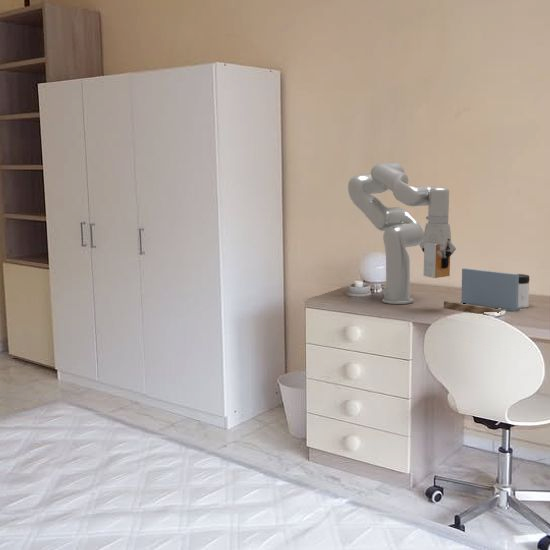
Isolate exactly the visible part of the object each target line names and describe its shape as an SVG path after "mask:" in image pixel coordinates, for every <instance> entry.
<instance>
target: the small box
mask: <svg viewBox="0 0 550 550" xmlns="http://www.w3.org/2000/svg"><path fill="white" fill-rule="evenodd" d="M447 248H448V245H447ZM448 251H450V249H449V250H448ZM445 253H446V251H445ZM442 258H443V255H442V251H439V244H434V243H424V252H423V277H425V278H426V277H428V278H432V279H438V278H445V277H450V274H451V273H450V271H451V256H450V257H449V263H448V268H444V269H443V268H442Z"/></svg>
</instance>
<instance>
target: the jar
mask: <svg viewBox="0 0 550 550" xmlns="http://www.w3.org/2000/svg"><path fill="white" fill-rule="evenodd" d="M518 274H519V287H518V308H520V309H522V308H523V307H524V308H529V299H530V297H529V295H530V293H529V292H530V275H528V274H524V273H518ZM524 308H523V309H524Z"/></svg>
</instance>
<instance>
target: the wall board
mask: <svg viewBox="0 0 550 550" xmlns="http://www.w3.org/2000/svg"><path fill="white" fill-rule="evenodd" d="M519 274H520V273H509V272H501V271H490V270H482V269H475V268H474V269H473V268H463V267H462V269H461V302H460V303H466V304H469V305H470V304H471V305H477V306H482V307H488V308H501V310H502V309H506V310H505V311H508V310H510V311H511V312H515V311H516V312H518V310H519V311H520V309H521V308H518V287H519Z"/></svg>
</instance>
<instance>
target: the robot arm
mask: <svg viewBox="0 0 550 550" xmlns="http://www.w3.org/2000/svg"><path fill="white" fill-rule="evenodd" d="M347 190H348V194H349V195H348V196H349V198H350V200H351V201H352V203H353V204H354V205H355V206H356V207H357V208H358V209H359V210H360V211H361V212H362V213H363V214H364V215H365V217H366V218H367V219H368V220H369V221H370V223H372V225H373V227H375V228H376V230H378V231H380V232H383V237H382V238H383V239H382V240H383V244H384V249H385V289H384V288H383V289H381V291H379V295H383V297H382V301H381V302H383V303H385V304H390V305H391V304H392V305H408V304H411V303H414V298H413V297H411V296H410V285H411V284H410V282H411V281H410V277H411V276H410V273H411V271H410V270H411V269H410V267H411V265H410V255H409V253H408V251H407V249H406V248H410V247H417V246H420V248H421V251H422V252H423V253H424V243H434V244H439V251H442V255H443V258H442V268H443V269H444V268H448V263H449V257H450V258H451V256H452V255H453V254H454V252H455V251H456V249H457V248H456V247H455V245H454V244H453V243H452V231H451V225H450V224H449V212H450V211H449V209H450V207H449V205H450V190H449V188H448V187H443V186H442V187H441V186H439V187H436V186H432V185H421V186H411V185H409V175H407V173H406V172H405V169H404V167H403V165H402V164H400V163H398V162H396V161H395V162H394V161H393V162H379V163H376V164H375V165H373V166H372V167H371V169H370V173H363V174H357V175H354V176H352V177H350V179H349V181H348V185H347ZM388 190H390V191H392V194H393V196H394V198H395V200H396V201H399V202H400V203H402V204H404V205H405V206H408V207H422V206H424V207H425V206H427V207H428V208H427V209H428V211H427V216H426V217H425V220H426V221H427V223H425V226H424V229H423V227H422V226H421V224H419V222H418V221H417V220H416V219H415V218H414V217H413V216H412V215H411V214H410V212H408V210H406V209H405V208H403V207H400V206H399V207H397V206H396V207H387V206H385V205H384V204H383V202H382V201H381V200H380V199H378V198H377V197H376V196H374V194H382V193H385V192H386V191H387V192H388ZM372 194H373V195H372ZM447 245H448V248H447ZM449 249H450V251H448V250H449ZM445 251H446V253H445Z"/></svg>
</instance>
